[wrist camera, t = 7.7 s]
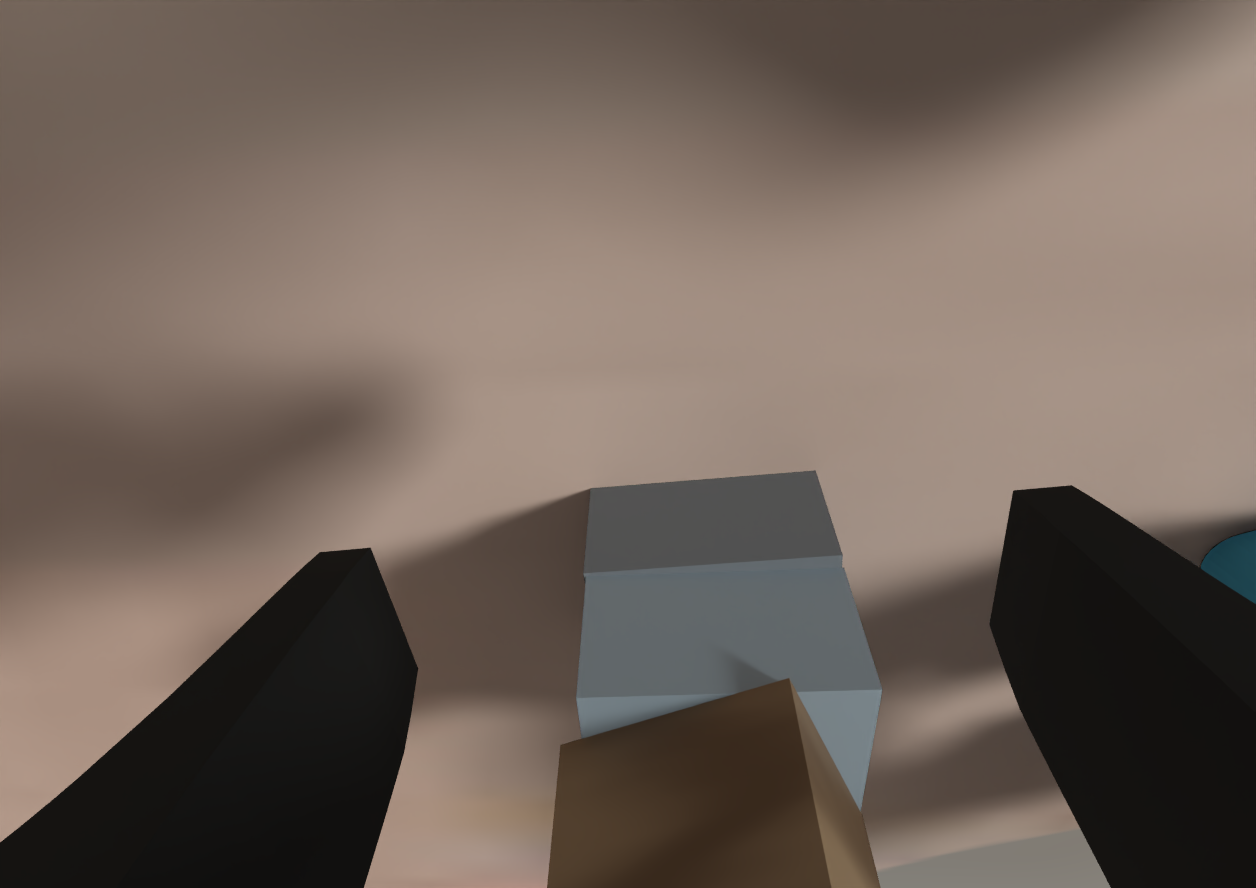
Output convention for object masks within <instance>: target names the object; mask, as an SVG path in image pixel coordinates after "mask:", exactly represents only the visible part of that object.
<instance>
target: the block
mask: <svg viewBox="0 0 1256 888" xmlns="http://www.w3.org/2000/svg"><path fill="white" fill-rule="evenodd" d="M1201 569H1202V570H1203V571H1205V572H1207V573H1208V574H1210V575H1211V576H1213V577H1214V578H1216V579H1217V580H1219V581H1220V582H1222V583H1223V584H1225V585H1227V586H1228V587H1230V588H1231V589H1233V590H1234V591H1236V592H1238V593H1239V594H1241V595H1242V596H1244V597H1245V598H1247V599H1249V600H1250V601H1252V602H1253V603H1255V604H1256V530H1255V531H1251V532H1247V533H1243V534H1239V535H1236V536H1234V537H1231V538H1228V539H1226V540H1225V541H1223V542H1221V543H1219V544H1218V545H1217V546H1215V547H1214V548H1213V549H1211V551H1210V552H1209V553H1208V554H1207V555H1206V556H1205V558H1204V560H1203V562H1202V564H1201Z"/></svg>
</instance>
